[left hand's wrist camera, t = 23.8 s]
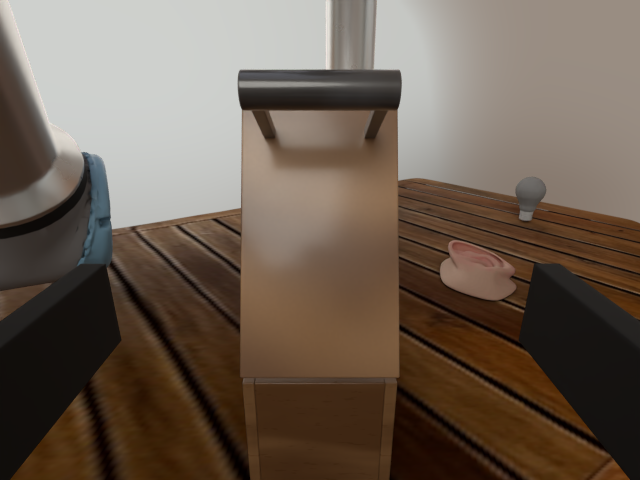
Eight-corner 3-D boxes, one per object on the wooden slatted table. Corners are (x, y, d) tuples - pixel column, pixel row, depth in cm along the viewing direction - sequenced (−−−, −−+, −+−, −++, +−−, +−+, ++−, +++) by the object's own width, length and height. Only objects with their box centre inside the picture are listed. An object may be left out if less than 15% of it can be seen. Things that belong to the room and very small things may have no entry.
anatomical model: (521, 279, 53) (433, 265, 58) (516, 305, 55) (430, 289, 59) (520, 246, 64) (446, 236, 69) (515, 269, 66) (444, 258, 70)
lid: (245, 101, 26) (209, 27, 18) (394, 101, 26) (429, 27, 18) (243, 373, 26) (205, 431, 17) (396, 373, 26) (434, 431, 17)
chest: (275, 356, 45) (271, 271, 41) (363, 356, 45) (367, 271, 41) (251, 499, 29) (241, 383, 25) (387, 499, 29) (397, 383, 25)
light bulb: (515, 224, 88) (523, 179, 85) (507, 216, 94) (514, 174, 90) (543, 225, 87) (553, 180, 84) (534, 217, 93) (542, 174, 90)
